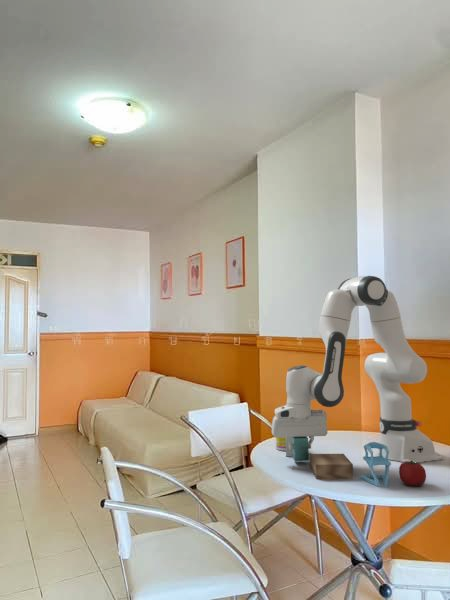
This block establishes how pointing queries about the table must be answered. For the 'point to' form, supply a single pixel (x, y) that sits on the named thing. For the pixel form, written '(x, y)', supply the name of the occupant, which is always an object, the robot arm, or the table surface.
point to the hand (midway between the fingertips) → (300, 448)
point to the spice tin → (300, 449)
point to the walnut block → (331, 466)
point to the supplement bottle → (281, 443)
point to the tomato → (412, 473)
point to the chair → (376, 463)
